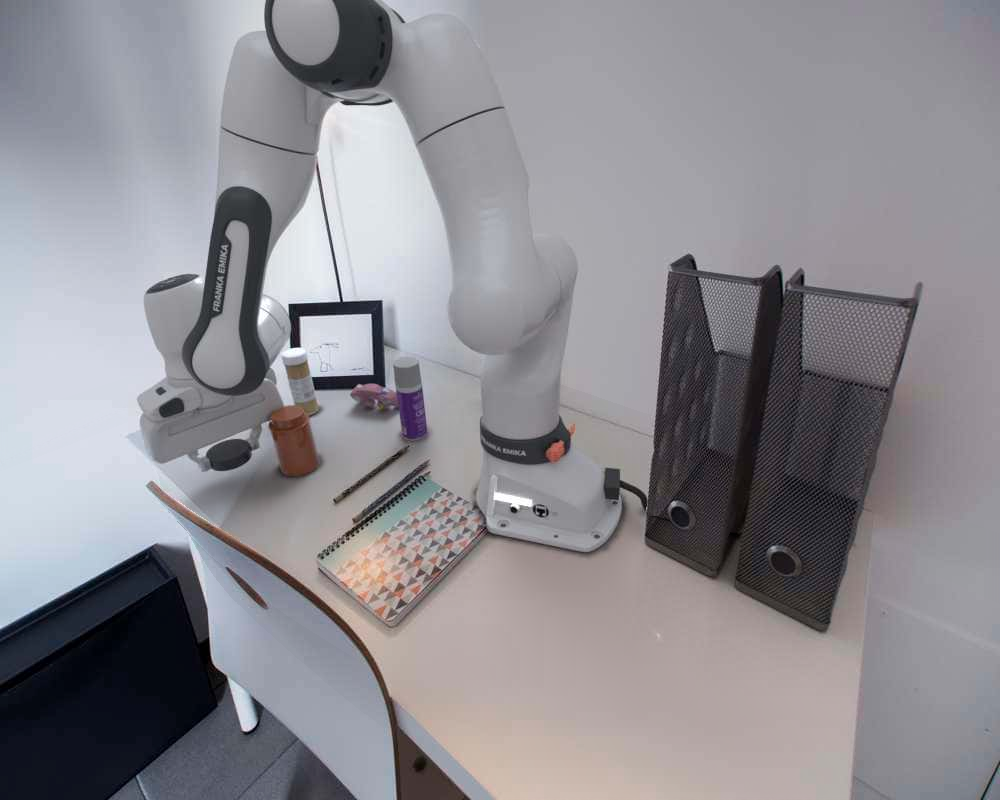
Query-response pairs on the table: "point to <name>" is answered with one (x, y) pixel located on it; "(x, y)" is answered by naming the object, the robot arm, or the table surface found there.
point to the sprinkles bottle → (300, 379)
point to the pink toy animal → (374, 396)
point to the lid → (229, 454)
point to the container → (410, 398)
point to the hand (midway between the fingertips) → (230, 458)
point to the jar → (293, 441)
